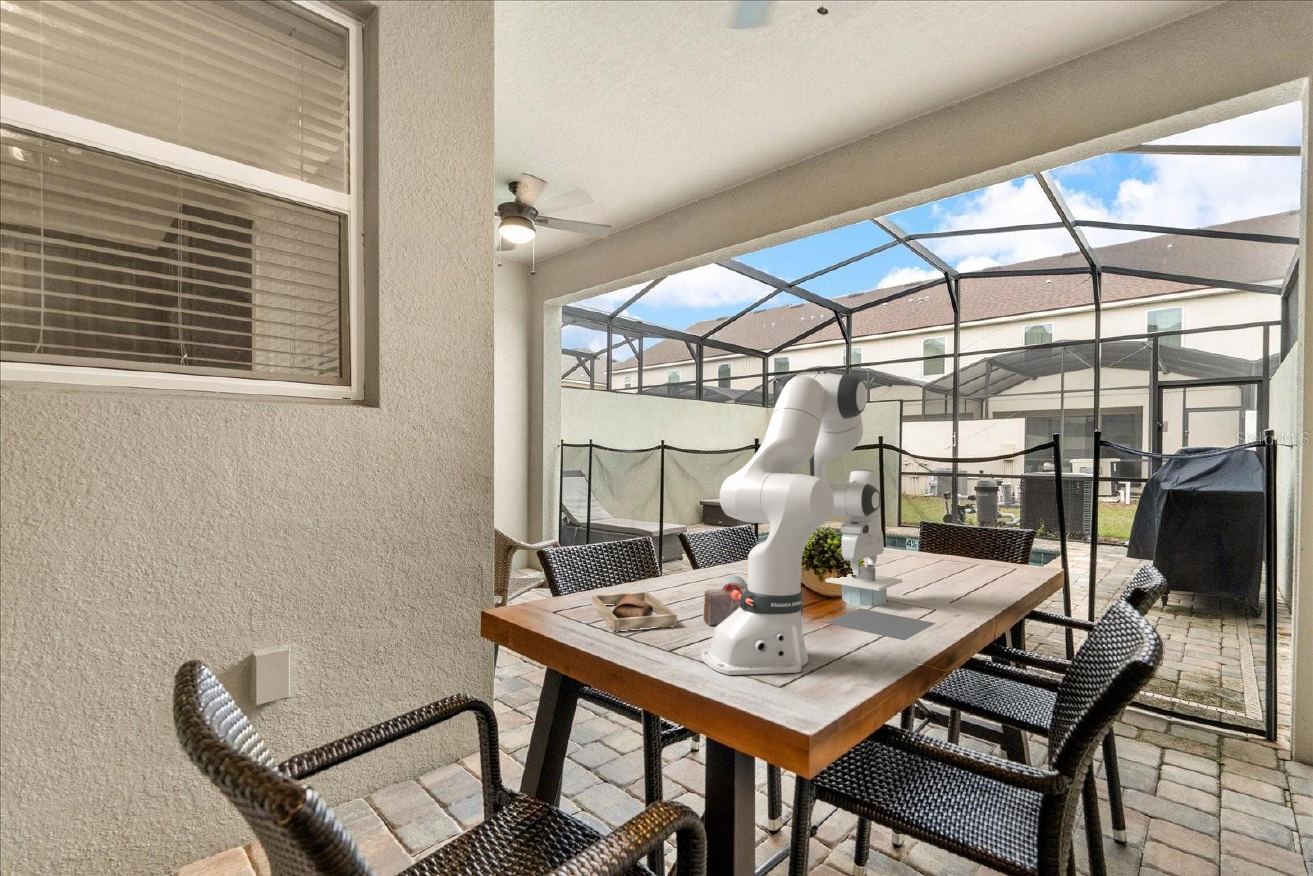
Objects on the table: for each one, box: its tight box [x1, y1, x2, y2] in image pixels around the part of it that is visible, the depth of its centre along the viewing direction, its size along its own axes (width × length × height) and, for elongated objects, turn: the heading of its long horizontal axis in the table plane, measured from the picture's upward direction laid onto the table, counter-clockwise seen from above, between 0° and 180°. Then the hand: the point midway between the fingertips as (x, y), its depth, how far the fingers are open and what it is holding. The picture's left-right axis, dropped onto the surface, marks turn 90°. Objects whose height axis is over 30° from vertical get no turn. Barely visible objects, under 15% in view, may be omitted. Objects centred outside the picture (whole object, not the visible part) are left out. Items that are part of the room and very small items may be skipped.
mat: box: [824, 608, 936, 641], centre depth 151 cm, size 20×20×1 cm
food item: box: [703, 584, 746, 626], centre depth 153 cm, size 14×8×10 cm, turn 98°
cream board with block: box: [825, 565, 903, 591], centre depth 175 cm, size 16×16×4 cm
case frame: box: [591, 591, 678, 631], centre depth 158 cm, size 16×26×3 cm, turn 18°
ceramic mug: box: [720, 574, 748, 589], centre depth 171 cm, size 11×8×8 cm
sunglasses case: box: [611, 592, 651, 618], centre depth 158 cm, size 18×7×7 cm
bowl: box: [841, 585, 888, 607], centre depth 175 cm, size 12×12×6 cm
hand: (863, 572), depth 175 cm, fingers open, 8 cm apart
